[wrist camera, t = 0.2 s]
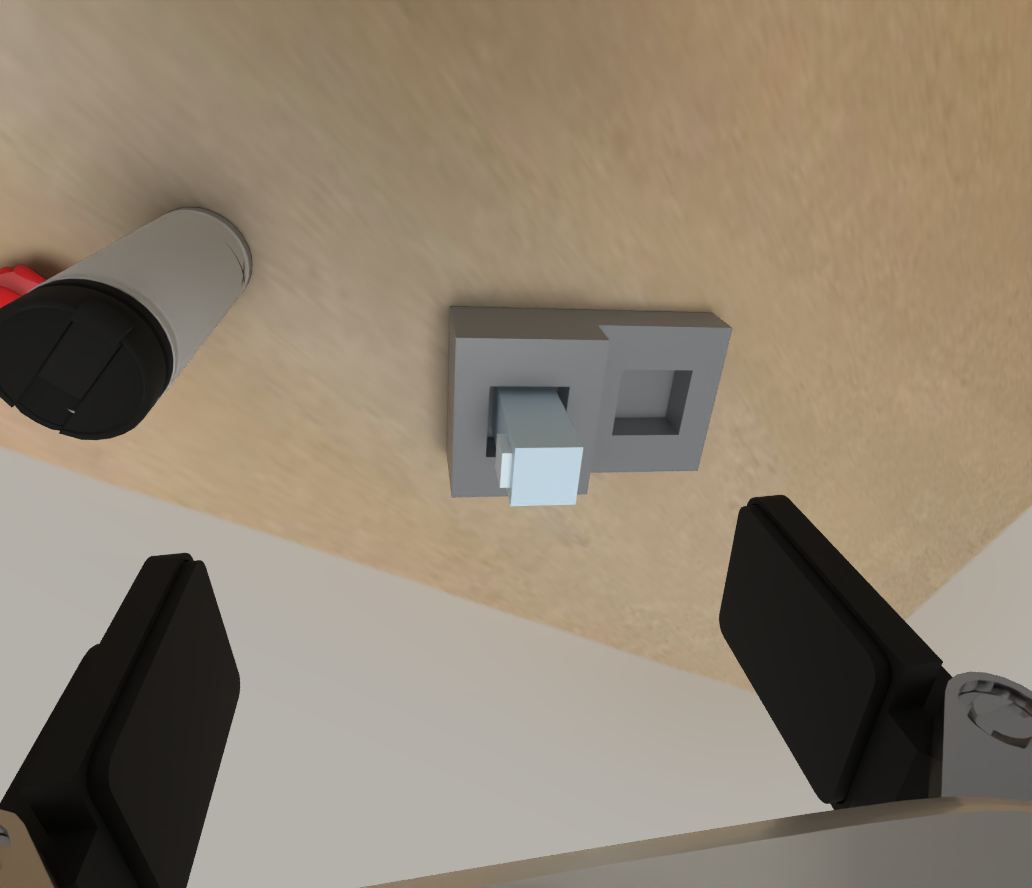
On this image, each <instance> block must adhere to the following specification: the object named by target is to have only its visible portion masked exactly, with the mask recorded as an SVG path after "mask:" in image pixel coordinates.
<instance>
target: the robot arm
mask: <svg viewBox="0 0 1032 888" xmlns="http://www.w3.org/2000/svg"><path fill="white" fill-rule="evenodd" d="M719 623H720V628H721V632H722V634H723V636H724V638H725V640H726V641H727V643H728V645H729V647H730V648H731V650H732V652H733V653H734V655H735V657H736V659H737V660H738V662H739V664H740V665H741V667H742V669H743V670H744V672H745V674H746V676H747V677H748V679H749V681H750V682H751V684H752V686H753V688H754V689H755V691H756V693H757V694H758V696H759V698H760V700H761V701H762V703H763V705H764V706H765V708H766V710H767V711H768V713H769V715H770V717H771V718H772V720H773V721H774V723H775V725H776V727H777V728H778V730H779V732H780V734H781V735H782V737H783V739H784V740H785V742H786V744H787V745H788V747H789V749H790V751H791V752H792V754H793V756H794V757H795V759H796V761H797V763H798V764H799V766H800V768H801V769H802V771H803V773H804V775H805V776H806V778H807V780H808V781H809V783H810V785H811V786H812V788H813V790H814V792H815V793H816V795H817V796H818V798H819V799H820V800H821V801H822V802H824V803H826V804H829V803H830V804H831V805H832V807H833V809H834V810H832V811H825V812H819V813H811V814H805V815H798V816H792V817H786V818H780V819H773V820H767V821H761V822H755V823H748V824H742V825H736V826H729V827H723V828H717V829H710V830H705V831H698V832H692V833H685V834H679V835H673V836H667V837H660V838H654V839H648V840H643V841H636V842H630V843H624V844H618V845H612V846H606V847H600V848H593V849H587V850H581V851H575V852H569V853H563V854H557V855H551V856H545V857H539V858H533V859H527V860H521V861H515V862H510V863H503V864H497V865H491V866H485V867H480V868H473V869H467V870H461V871H455V872H449V873H443V874H437V875H431V876H426V877H420V878H414V879H408V880H402V881H396V882H391V883H385V884H379V885H373V886H367V887H362V888H1032V691H1030V690H1029V689H1027V688H1026V687H1024V686H1022V685H1020V684H1018V683H1015V682H1013V681H1011V680H1009V679H1006V678H1004V677H1000V676H997V675H992V674H988V673H983V672H966V673H962V674H958V675H956V676H954V677H952V676H951V675H950V674H949V673H948V672H947V671H946V670H945V669H944V668H943V667H942V666H941V665H942V663H943V661H942V660H941V659H940V658H939V657H938V656H937V655H936V654H935V653H934V652H933V651H932V650H931V648H930V647H929V646H928V645H927V644H926V643H925V642H924V641H923V640H922V639H921V638H920V637H919V636H918V635H917V634H916V633H915V632H914V630H912V628H911V627H910V626H909V625H908V624H907V623H906V622H905V621H904V620H903V619H902V618H901V617H900V616H899V615H898V614H897V612H896V611H895V610H894V609H893V608H892V607H891V606H890V605H889V604H888V603H887V602H886V601H885V600H884V599H883V598H882V597H881V596H880V595H879V593H878V592H877V591H876V590H875V589H874V588H873V587H872V586H871V585H870V584H869V583H868V582H867V581H866V580H865V579H864V578H863V577H862V575H861V574H860V573H859V572H858V571H857V570H856V569H855V568H854V567H853V566H852V565H851V564H850V563H849V562H848V561H847V560H846V559H845V558H844V556H843V555H842V554H841V553H840V552H839V551H838V550H837V549H836V548H835V547H834V546H833V545H832V544H831V543H830V542H829V541H828V540H827V538H826V537H825V536H824V535H823V534H822V533H821V532H820V531H819V530H818V529H817V528H816V527H815V526H814V525H813V524H812V523H811V522H810V521H809V519H808V518H807V517H806V516H805V515H804V514H803V513H802V512H801V511H800V510H799V509H798V508H797V507H796V506H795V505H794V504H793V503H792V501H791V500H790V499H789V498H787V497H786V496H784V495H774V496H764V497H754V498H751V499H750V500H749V502H748V504H747V506H744V507H742V508H741V509H740V511H739V514H738V520H737V525H736V530H735V535H734V541H733V546H732V551H731V556H730V562H729V567H728V572H727V577H726V583H725V588H724V593H723V598H722V604H721V609H720V614H719ZM239 693H240V677H239V672H238V669H237V666H236V663H235V659H234V657H233V653H232V650H231V647H230V643H229V640H228V637H227V634H226V630H225V627H224V624H223V621H222V618H221V614H220V611H219V608H218V605H217V601H216V598H215V595H214V592H213V589H212V585H211V582H210V579H209V576H208V573H207V569H206V566H205V564H204V563H203V561H201V560H198V561H194V560H193V558H192V557H191V555H190V554H188V553H180V554H169V555H159V556H151V557H149V558H148V559H147V560H146V561H145V563H144V565H143V566H142V569H141V570H140V572H139V574H138V575H137V577H136V579H135V581H134V583H133V584H132V586H131V588H130V590H129V592H128V594H127V595H126V597H125V599H124V601H123V602H122V604H121V606H120V608H119V610H118V611H117V613H116V615H115V617H114V619H113V620H112V622H111V624H110V626H109V628H108V629H107V631H106V633H105V635H104V637H103V638H102V640H101V642H100V644H97V645H95V646H93V647H92V648H90V649H89V650H88V652H87V653H86V655H85V656H84V657H83V659H82V661H81V662H80V664H79V666H78V668H77V670H76V671H75V673H74V675H73V676H72V678H71V680H70V682H69V683H68V685H67V687H66V689H65V691H64V692H63V694H62V696H61V697H60V699H59V701H58V703H57V705H56V706H55V708H54V710H53V711H52V713H51V715H50V717H49V718H48V720H47V722H46V724H45V726H44V727H43V729H42V731H41V732H40V734H39V736H38V738H37V739H36V741H35V743H34V745H33V747H32V748H31V750H30V752H29V753H28V755H27V757H26V759H25V761H24V762H23V764H22V766H21V768H20V769H19V771H18V773H17V774H16V776H15V778H14V780H13V781H12V783H11V785H10V787H9V789H8V790H7V792H6V794H5V796H4V797H3V799H2V801H1V803H0V888H186V887H187V883H188V880H189V876H190V872H191V868H192V865H193V861H194V857H195V854H196V850H197V846H198V843H199V840H200V836H201V832H202V829H203V825H204V821H205V818H206V814H207V810H208V807H209V803H210V800H211V796H212V792H213V789H214V785H215V782H216V778H217V774H218V771H219V767H220V763H221V759H222V756H223V753H224V749H225V745H226V742H227V738H228V734H229V731H230V727H231V723H232V720H233V716H234V713H235V709H236V705H237V702H238V698H239Z"/></svg>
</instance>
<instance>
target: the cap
mask: <svg viewBox="0 0 1032 888" xmlns="http://www.w3.org/2000/svg"><path fill="white" fill-rule="evenodd" d="M45 281H46V279H45V278H43V277H42V276H40V275H39V274H37V273H36V272H34V271H33V270H32V269H30V268H28V267H27V266H25V265H18V266H16V267H15V268H14V269H12V268H10V267H4V268H1V269H0V308H1V307H3V306H5V305H7V304H8V303H10V302H12V301H14V300H15V299H17V298H19V297H21V296H23V295H24V294H26V293H27V292H28V291H30V290H31V289H33V288H34V287H36V286H37V285H39V284H41V283H42V282H45Z"/></svg>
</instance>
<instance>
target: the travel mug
mask: <svg viewBox="0 0 1032 888" xmlns="http://www.w3.org/2000/svg"><path fill="white" fill-rule="evenodd" d="M251 273H252V258H251V253H250V250H249V247H248V245H247V243H246V241H245V239H244V237H243V236H242V235H241V233H240V232H239V231H238V230H237V228H236V227H235V226H233V225H232V224H231V223H230V222H229V221H228V220H226V219H225V218H223V217H222V216H220V215H218V214H216V213H214V212H212V211H209V210H205V209H201V208H193V207H186V208H179V209H175V210H173V211H170V212H168V213H166V214H164V215H162V216H161V217H159V218H157V219H155V220H153V221H152V222H150V223H148V224H146V225H145V226H143V227H141V228H139V229H137V230H136V231H134V232H132V233H130V234H128V235H127V236H125V237H123V238H121V239H119V240H118V241H116V242H114V243H112V244H110V245H109V246H107V247H105V248H103V249H102V250H100V251H98V252H96V253H94V254H93V255H91V256H89V257H87V258H85V259H84V260H82V261H80V262H78V263H76V264H75V265H73V266H71V267H69V268H67V269H66V270H64V271H62V272H60V273H58V274H57V275H55V276H53V277H51V278H50V279H48V280H46V281H45V282H42V283H41V284H39V285H37V286H36V287H34V288H33V289H31V290H30V291H28V292H27V293H26V294H24V295H23V296H21V297H19V298H17V299H15V300H14V301H12V302H10V303H8V304H7V305H5V306H3V307H1V308H0V397H1V398H2V399H3V400H4V401H5V402H6V403H7V404H8V405H10V406H11V407H13V406H14V405H15V406H16V407H17V408H18V410H19V411H20V412H21V413H22V414H24V415H26V416H27V417H29V418H30V419H32V420H33V421H35V422H37V423H39V424H41V425H43V426H45V427H48V428H50V429H53V430H59V431H60V432H59V433H60V434H63V435H67V436H70V437H74V438H78V439H81V440H101V439H109V438H113V437H116V436H119V435H122V434H125V433H126V432H128V431H130V430H132V429H133V428H135V427H136V426H137V425H138V424H139V423H140V422H141V421H142V420H143V419H144V418H145V416H146V415H147V414H148V412H149V411H150V410H151V408H152V407H153V406H154V405H155V403H156V402H157V401H158V400H159V399H160V398H161V397H162V396H163V395H164V394H165V393H166V391H167V390H168V388H169V387H170V386H171V385H172V383H173V382H174V381H175V380H176V378H177V377H178V376H179V374H180V373H181V372H182V370H183V369H184V368H185V366H186V365H187V364H188V363H189V361H190V360H191V359H192V357H193V356H194V355H195V353H196V352H197V351H198V350H199V348H200V347H201V346H202V344H203V343H204V342H205V340H206V339H207V338H208V336H209V335H210V334H211V333H212V331H213V330H214V329H215V327H216V326H217V325H218V323H219V322H220V321H221V320H222V318H223V317H224V316H225V314H226V313H227V312H228V310H229V309H230V308H231V306H232V305H233V304H234V303H235V301H236V300H237V299H238V297H239V296H240V295H241V293H242V292H243V291H244V289H245V288H246V286H247V284H248V283H249V280H250V277H251Z"/></svg>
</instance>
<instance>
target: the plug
mask: <svg viewBox="0 0 1032 888" xmlns="http://www.w3.org/2000/svg"><path fill="white" fill-rule="evenodd" d="M491 429H492V433H493V437H494V441H495V445H496V460H495V469H496V473H497V478H498V482H499V486H500V488H506V489H507V493H508V497H509V501H510V505H511V506H534V505H571V504H576V497H577V490H578V483H579V475H580V468H581V461H582V454H583V445H582V443H581V441H580V439H579V437H578V435H577V433H576V431H575V429H574V427H573V425H572V423H571V421H570V419H569V417H568V415H567V412H566V410H565V408H564V406H563V404H562V402H561V400H560V398H559V396H558V394H557V392H556V390H555V388H554V387H529V386H494V392H493V409H492V426H491Z"/></svg>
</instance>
